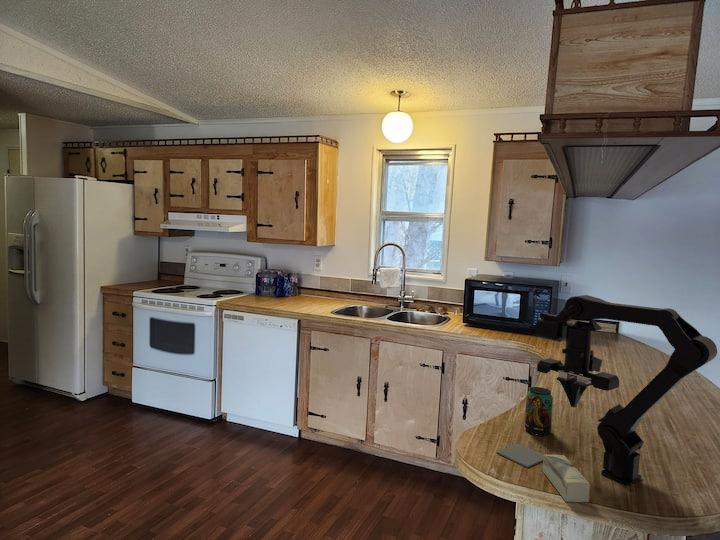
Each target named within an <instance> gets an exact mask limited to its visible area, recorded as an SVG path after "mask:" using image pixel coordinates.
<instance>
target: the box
mask: <svg viewBox="0 0 720 540" xmlns="http://www.w3.org/2000/svg"><path fill="white" fill-rule="evenodd" d="M542 472H543V473H544V475H545V476H546V478H547V479H548V480H549V481H550V482H551V484H552V486H554V488H555V489H556V490H557V492H558V493H559V495H560V496H561V497H562V498H563V500H564V501H565V502H567V503H589V502H590V494H591V491H590V490H591V483H590V482H589V481H588V480H587V479H586V478H585V477H584V475H582V473H581V472H580V471H579V470H578V469H577V468H576V467H575V466H574V465H573V463H572V462H571V461H570V460H569V459H568V457H566V456H565V455H564V454H563V455H562V454H544V459H543V461H542Z"/></svg>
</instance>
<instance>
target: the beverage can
mask: <svg viewBox="0 0 720 540" xmlns="http://www.w3.org/2000/svg"><path fill="white" fill-rule="evenodd" d="M525 399H526V400H525V417H524V428H525V429H526V431H527V432H528V431H529V432H528V433H530V432H531V433H530V434H532V433H533V435H535V434H537V435H536V436H547V435H549V434H550V433H551V431H552V420H553V408H554V407H553V405H554V404H553V403H554V397H553V395H552V391H551V390H550V389H548V388H546V387H539V386H532V387H529V391H528V392H527V393H526V398H525Z"/></svg>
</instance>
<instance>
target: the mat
mask: <svg viewBox="0 0 720 540" xmlns="http://www.w3.org/2000/svg"><path fill="white" fill-rule="evenodd" d="M497 453H499V454H500V455H499V454H498V455H499V456H501V455H502V457H503V456H504V458H506V459H508V460H509V461H512V462H514V463H516V464H519V465H520V466H523V467H524V468H527V469H528V468H531V467H533V466H535V465H537V464H539V463H543V459H544V455H545V454H543V453H541V452H538V451H537V450H534V449H532V448H529V447H528V446H525V445H523V444H521V443H515V444H513V445H510V446H508V447H506V448H503V449H500V450H498V451H496V454H497Z"/></svg>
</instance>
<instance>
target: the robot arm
mask: <svg viewBox="0 0 720 540" xmlns="http://www.w3.org/2000/svg"><path fill="white" fill-rule="evenodd" d="M587 320H588V322H587ZM596 320H609V321H611V320H612V321H617V322H625V323H632V324H640V325H645V326H652V327H653V326H655V327H658V328H659V329H660V331H661V332H662V333H663V335H664V337H665V339H666V340H667V342H668V343H669V344H670V346H671V347H672V348H673V349H674V350H673V352H672V353H671V355H670V357H669V359H668V361H667V363H666V364H665V366H664V368H662V369H661V371H660V372H659V373H658V374H657V375H656V376H655V377H653V378H652V379H651V381H649V382H648V383H647V385H645V386H644V387H643V388H642V389H641V391H639V392H638V393H637V395H635V396H634V398H632V399H631V400H630V401H629V402H628V403H627V404H626V405H625V406H624V407H623V406H622V405H621V403H619V404H617V405H615V406H613V407H612V408H609V409H608V410H607V412H606V413H605V415H604V416H602V417H600V418H599V419H597V420H598V422H600V423H599V424H598V425H597V427H596V430H597V434H598V436H599V438H600V439H601V441H602V444H603V447H604V452H603V458H602V459H603V461H602V462H603V463H602V469H603V470H601V471H600V473H601V475H603V476H606V477H608V478H609V479H613V480H615V481H617V482H619V483H622V484H624V485H627V486H631V485H633V484H634V483H636V482H638V481H640V480H641V479H642V475H641V474H640V471H639V470H640V461H641V460H640V459H641V453H638V452H637V451H640V450H642V447H643V445H644V443H645V442H644V441H643V439H642V437H640V435H639V434H638V433H637V431H636V430H637V428H638V427H639V425H640V423H641V421H642V418H644V416H645V415H646V414H648V412H650V410H652V409H653V408H654V407H655V406H656V405H657V404H658V403H659V402H660V401H661V400H662V399H663V398H664V397H665V396H667V394H669V392H671V390H673V389H674V388H675V387H676V386H677V385H678V384H679V383H680V382H681V381H682V380H684V378H685V377H687V376H688V375H690V374H691V373H694V372H695V371H696V370H698V369H699V368H701V367H703V366H704V365H707V364H708V363H709V362H711V361H712V360H714V359H715V358H716V357H717V355H718V347H717V345H716V343H715V342H714V340H712V339H711V338H709V337H708V336H704V335H702V333H701V332H700V331H699V330H698V329H697V328H695V327H694V326H693V325H692V324H690V323H689V322H687V320H685V319H684V318H683V317H682V316H681V315H680V314H679V313H678V312H677V311H676V310H675V309H674V308H669V307H667V308H662V307H660V308H658V307H651V306H643V305H633V304H626V303H625V304H622V303H615V302H610V301H606V300H604V299H602V298H599V297H595V296H591V295H588V294H585V295H584V294H582V295H576V296H571V297H569V298H568V299H567V300H566V301H565V304H564V308H563V309H562V310H561V311H560V312H559V313H558V314H551V313H549V312H541V313H540V315H539V318H538V319H537V322H536V324H535V326H534V333H535V336H536V338H538V339H543V340H546V341H552V342H557V343H561V342H562V341H563V340H564V339H565V348H562V350H561V353H562V354H564V361H563V362H562V361H561V360H558V359H555V358H550V357H547V358H544V359H540V360H539V361H538V362H537V364H536V371H537V372H540V373H542V374H549V373H550V372H551V371H552V372H557V373H558V375H557V377H556V380H557V381H558V382H559V383H560V385H561V387H562V388H563V390H564V393H565V395H566V397H567V400H568V402H569V405H570V407H571V408H577V406H578V404H579V403H580V400H581V398H582V396H583V394H584V393H585V392H586V390H587V389H588V387H591V386H592V387H593V388H594V389H599V390H602V391H605V392H606V391H607V392H609V391H612V390H615V389H617V388H620V379H619V377H618V375H617V374H612V373H608V372H604V371H601V368H602V364H603V359H601V358H598V357H595V356H594V350H592V348H591V346H592V337H593V335H592V334H593V332H598V331H601V330H602V328H603V327H601V325H599V323H597V321H596ZM570 321H575V322H574V323H573V322H570ZM592 372H596V373H592Z"/></svg>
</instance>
